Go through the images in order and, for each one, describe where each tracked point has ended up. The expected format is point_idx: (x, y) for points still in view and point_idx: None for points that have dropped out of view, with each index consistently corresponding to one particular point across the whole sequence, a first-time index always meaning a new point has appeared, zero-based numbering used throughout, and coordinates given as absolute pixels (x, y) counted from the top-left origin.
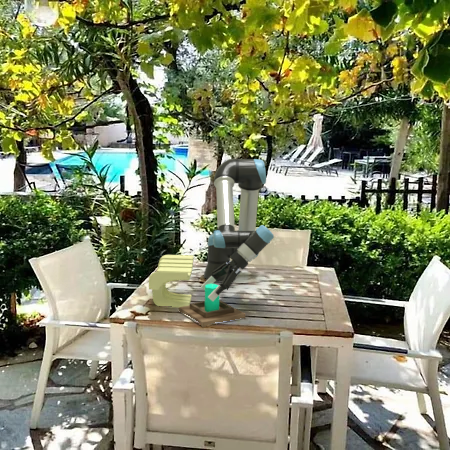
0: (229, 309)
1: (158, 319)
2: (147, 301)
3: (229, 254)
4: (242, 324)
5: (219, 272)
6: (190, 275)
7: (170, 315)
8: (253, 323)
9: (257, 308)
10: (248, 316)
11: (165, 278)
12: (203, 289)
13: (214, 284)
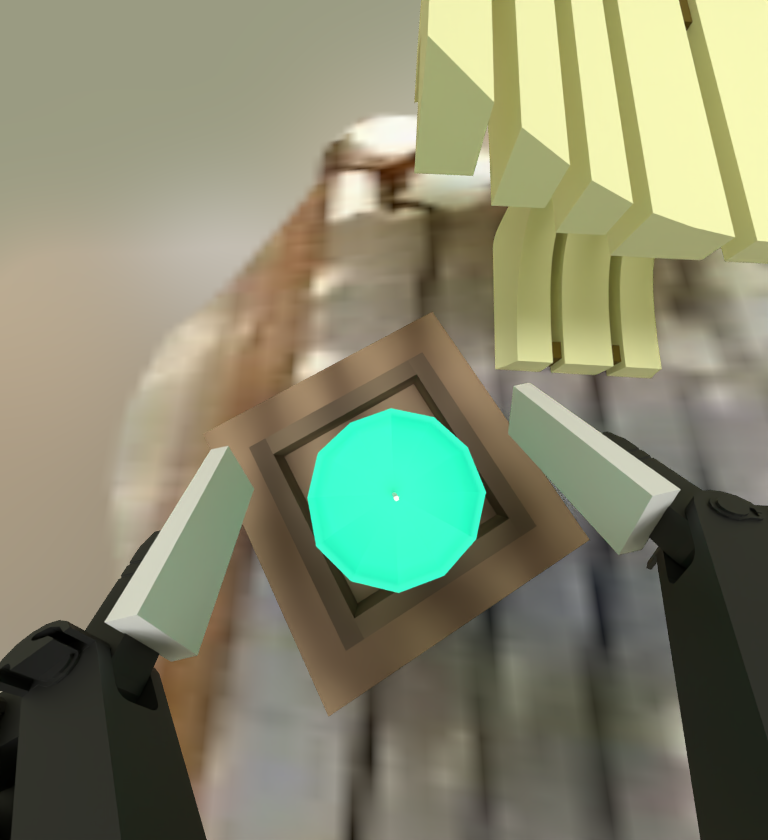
0: (328, 608)
1: (331, 251)
2: None
3: None
4: (238, 661)
5: (737, 708)
6: (763, 252)
7: (380, 293)
8: (247, 740)
9: (522, 809)
10: (367, 717)
11: None
12: (510, 413)
13: (466, 524)
